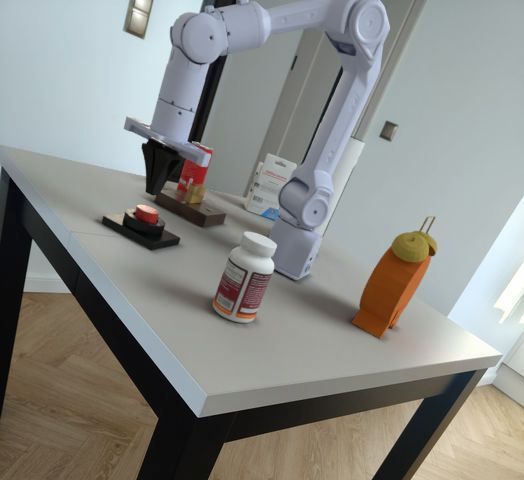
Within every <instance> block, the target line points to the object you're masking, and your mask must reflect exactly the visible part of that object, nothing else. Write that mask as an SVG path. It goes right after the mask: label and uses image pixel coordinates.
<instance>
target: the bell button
mask: <svg viewBox="0 0 524 480" xmlns="http://www.w3.org/2000/svg"><path fill="white" fill-rule="evenodd" d="M135 209H136V211H135V215H134V216H135V217H137V218H139V219H141V220H144V221H147V222H151V223H156V222H157V218H158V217H159V215H160V212H159V211H158V210H157V209H156V208H154V207H151V206H149V205H144V204H137V205H136V208H135Z"/></svg>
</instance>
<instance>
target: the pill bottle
mask: <svg viewBox="0 0 524 480" xmlns="http://www.w3.org/2000/svg"><path fill="white" fill-rule="evenodd" d="M239 243H240V246H239V245H238V246H236V247H234V248H232V250H231V251H230V252H229V255H228V257H227V261H226V264H225V266H224V269H223V272H222V275H221V278H220V281H219V282H218V283H219V284H218V287H217V290H216V292H215V294H214V298H213V301H212V308H213V310H214V311H215V312H216V313H217V314H218V315H220V316H221V317H222V318H223V319H226V320H229V321H231V322H236V323H241V324H246V323H247V324H248V323H251V322H253V321H254V320H255V318H256V316H257V313H258V311H259V308H260V306H261V303H262V300H263V298H264V296H265V293H266V290H267V288H268V286H269V283H270V281H271V278H272V276H273V273H274V262H273V261H272V259H271V256H273V255H274V253H275V250H276V248H277V245H276V243H275V242H273V241H272V240H271V239H269V238H268V237H267V236H265V235H262V234H260V233H257V232H253V231H244V232H243V234H242V235H241V238H240V242H239Z"/></svg>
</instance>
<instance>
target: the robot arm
mask: <svg viewBox="0 0 524 480" xmlns="http://www.w3.org/2000/svg"><path fill="white" fill-rule="evenodd" d="M235 2H236V3H235V4H230V5H227V6H221V7H216V8H215V7H214V5H205V6H204V12H200V13H198V12H192V11H187V12H183V13H182V14H180V15H179V16H178V18H176V19H175V21H174V22H173V25H171V26H170V27H169V40H170V44H171V49H170V53H169V57H168V60H167V63H166V65H165V69H164V73H163V76H162V77H163V78H162V80H161V84H160V88H159V92H158V96H157V100H156V104H155V107H154V112H153V115H152V119H151V123H147V122H145V121H143V120H140V119H138V118H136V117H133V116H128V115H126V116H125V120H124V124H123V125H124V126H123V130H125V131H127V132H131V133H133V134H136V136H140V137H141V138H143V139H146V140H147V141H146V142H142V143H141V148H140V149H141V152H142V155H143V160H144V168H145V193H146V194H149V195H150V196H156V195H159V194H160V192H161V191H162V190H163V189H164V187H165V185H166V184H167V182H168V181H169V179H170V178H171V177H172V175H173V174H174V173H175V172H176V171H177V169H178V168H179V167H180V166H181V165H182V164H184V163H185V160H186V159H189V160H191V161H193V162H195V163H196V164H197V165H199V166H201V167H208V164H209V161H210V158H211V154H209V153H207V152H205V151H203V150H201V149H200V148H198V147H196V146H195V145H193V144H192V142H189V141H188V140H189V136H190V134H191V131H192V130H191V129H192V126H193V123H194V120H195V117H196V113H197V109H198V107H199V106H198V105H199V103H200V99H201V96H202V92H203V89H204V86H205V84H206V83H205V82H206V78H207V74H208V71H209V67H210V65H211V64H212V63H214V62H215V61H216V60H217V59H218V58H219V57H220V56H221V57H224V56H229V55H233V54H237V53H241V52H245V51H250V50H256V49H259V48H262V47H263V46H264V44H265V43H266V41H267V39H268V38H269V36H272V35H277V34H283V33H289V32H295V31H300V30H307V29H313V28H314V29H315V30H317V31H322V32H323V33H324V36H325V37H326V39H327V40H328V42H329V43H330V44H331V46H332V48H333V49H334V50H335V52H336V53H337V56H338V57H339V60H340V65H341V67H342V75H341V77H340V79H339V80H338V81H339V82H338V83H337V86H336V88H335V90H334V92H333V95H332V96H331V100H330V102H329V104H328V106H327V108H326V111H325V113H324V115H323V117H322V120H321V122H320V123H321V125H320V124H319V125H320V127H319V126H318V128H319V129H318V128H317V130H318V131H317V130H316V133H317V134H316V133H315V135H316V136H315V135H314V138H313V140H314V141H313V140H312V142H313V143H312V142H311V145H310V148H309V149H308V152H307V155H306V156H305V159H304V161H303V163H302V164H301V165H299V166H297V167H296V169H294V170H293V172H292V174H291V176H290V178H289V179H288V180H287V182H285V183H284V184H283V186H282V187H281V188H280V190H279V193H278V203H279V205H280V208H279V210H278V215H277V217H276V220H274V223H273V225H272V227H271V230H270V232H269V234H268V237H267V238H269V239H271V240H272V241H273V242H275V243H276V245H277V248H276V250H275V253H274V255H273V256H271V259H272V261H273V262H274V270H275V271H276V272H278V273H280V274H281V275H284V276H285V277H287V278H290V279H292V280H294V281H298V280H300V279H302V278H304V277H306V276H308V275H309V274H310V270H311V268H312V266H313V263H314V261H315V259H316V257H317V255H318V252H319V250H320V248H321V246H322V243H323V238H324V236H323V237H322V235H320V234H319V233H317V232H315V229H316V228H317V227H319V226H320V225H322V224H323V223H324V222H325V221H326V219H327V217H328V215H329V212H330V202H331V199H332V196H333V194H334V189H333V184H332V178H331V177H332V174H333V172H334V170H335V168H336V166H337V164H338V161H339V159H340V157H341V155H342V153H343V151H344V149H345V146H346V144H347V142H348V140H349V138H350V136H352V134H353V131H354V129H355V127H356V125H357V123H358V121H359V118H360V116H361V114H362V112H363V110H364V108H365V105H366V103H367V101H368V100H369V97H370V94H371V92H372V91H373V88H374V86H375V84H376V82H377V80H378V77H379V75H380V73H381V68H382V67H381V66H382V58H383V51H384V43H385V41H386V39H387V37H388V35H389V32H390V30H391V25H390V21H389V17H388V14H387V10H386V7H385V5H384V4H383V2H382V1H381V0H298V1H294V2H293V1H292V2H289V3H285V4H282V5H277V6H274V7H270V8H266V9H265V8H264V7H262V6H261V4H259V3H258V2H257V1H256V0H250V1H249V0H236V1H235ZM211 159H212V158H211ZM210 162H211V161H210ZM209 165H210V164H209ZM208 168H209V167H208Z"/></svg>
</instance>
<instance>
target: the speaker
mask: <svg viewBox="0 0 524 480" xmlns="http://www.w3.org/2000/svg"><path fill="white" fill-rule="evenodd" d="M320 125H321V122H320V123H319V125H318V128H317V130H316V133H315V135H314V137H315V136H316V134H317V131H318V129H319V127H320ZM313 141H314V139H313V140H312V142H311V144H312V143H313ZM365 146H366V142H365V141H364V140H361V139H359V138H357V137H355V136H353V135H351V136H350V138H349V140H348V142H347V144H346V146H345V149H344V151H343V153H342V155H341V157H340V159H339V161H338V164H337V166H336V168H335V170H334V172H333V174H332V177H331V178H332V184H333V189H334V194H333V196H332V199H331V202H330V212H329V215H328V217H327V219H326V221H325V222H324V223H323V224H322V225H320V226H319V227H317V228H316V229H315V232H317V233H319V234H320V235H322V237H323V238H324V237H325V234H326V231H327V230H328V227H329V225H330V223H331V222H332V221H331V220H332V219H333V217H334V214H335V211H336V209H337V207H338V205H339V203H340V201H341V198H342V196H343V194H344V192H345V189H346V187H347V185H348V182H349V180H350V179H351V176H352V174H353V172H354V169H355V167H356V165H357V164H358V163H357V162H358V161H359V158H360V156H361V155H362V151H363V149H364V147H365Z"/></svg>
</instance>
